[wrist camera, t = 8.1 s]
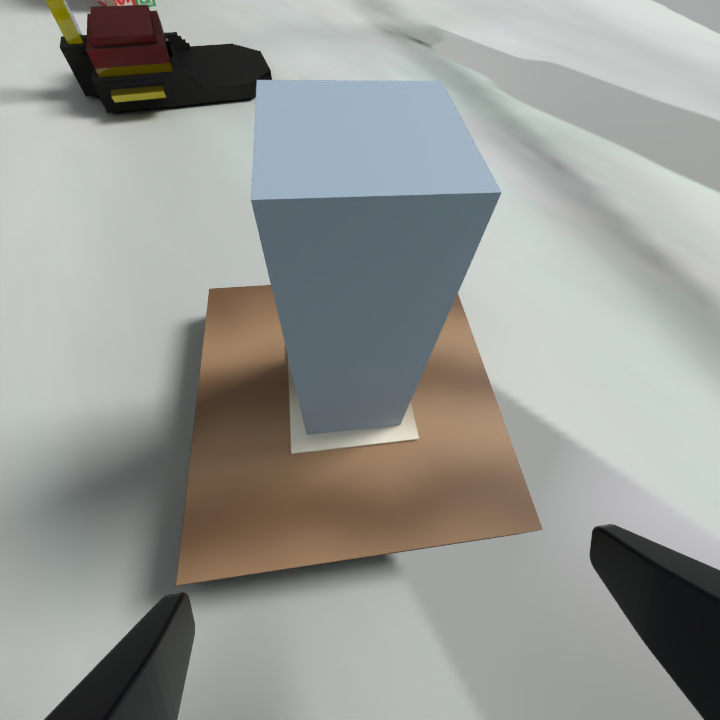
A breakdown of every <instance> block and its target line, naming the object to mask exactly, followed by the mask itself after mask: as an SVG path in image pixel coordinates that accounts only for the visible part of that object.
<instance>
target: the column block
mask: <svg viewBox="0 0 720 720" xmlns="http://www.w3.org/2000/svg"><path fill="white" fill-rule="evenodd" d="M500 195H501V191H500V189H499V187H498V185H497V183H496V181H495V179H494V178H493V176H492V174H491V172H490V170H489V168H488V166H487V165H486V163H485V161H484V159H483V157H482V155H481V153H480V152H479V150H478V148H477V146H476V144H475V142H474V140H473V138H472V137H471V135H470V133H469V131H468V129H467V127H466V125H465V124H464V122H463V120H462V118H461V116H460V114H459V112H458V111H457V109H456V107H455V105H454V103H453V101H452V99H451V98H450V96H449V94H448V92H447V90H446V88H445V86H444V84H443V83H442V81H335V80H257V86H256V107H255V128H254V148H253V169H252V190H251V202H252V206H253V210H254V215H255V219H256V223H257V227H258V231H259V236H260V240H261V244H262V248H263V253H264V257H265V261H266V265H267V270H268V274H269V278H270V282H271V286H272V291H273V295H274V299H275V303H276V308H277V312H278V316H279V320H280V325H281V329H282V333H283V337H284V341H285V346H286V350H287V354H288V358H289V363H290V367H291V371H292V375H293V380H294V384H295V388H296V392H297V396H298V401H299V405H300V409H301V413H302V418H303V422H304V426H305V430H306V435H309V434H319V433H328V432H338V431H347V430H357V429H367V428H376V427H386V426H395V425H401V422H402V420H403V418H404V415H405V413H406V411H407V408H408V406H409V404H410V402H411V399H412V397H413V395H414V392H415V390H416V388H417V385H418V383H419V381H420V379H421V376H422V374H423V372H424V369H425V367H426V365H427V362H428V360H429V358H430V356H431V353H432V351H433V349H434V346H435V344H436V342H437V339H438V337H439V335H440V333H441V330H442V328H443V326H444V323H445V321H446V319H447V316H448V314H449V312H450V310H451V307H452V305H453V303H454V300H455V298H456V296H457V293H458V291H459V289H460V287H461V284H462V282H463V280H464V277H465V275H466V273H467V270H468V268H469V266H470V264H471V261H472V259H473V257H474V254H475V252H476V250H477V247H478V245H479V243H480V241H481V238H482V236H483V234H484V231H485V229H486V227H487V224H488V222H489V220H490V218H491V215H492V213H493V211H494V208H495V206H496V204H497V201H498V199H499V197H500Z"/></svg>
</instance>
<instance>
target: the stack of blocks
mask: <svg viewBox="0 0 720 720" xmlns="http://www.w3.org/2000/svg"><path fill="white" fill-rule="evenodd" d="M96 1H98V2H99V3H100V4H102V5H104V6H125V5H148V7H152V6H156V3H155V0H96Z"/></svg>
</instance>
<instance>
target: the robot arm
mask: <svg viewBox="0 0 720 720" xmlns="http://www.w3.org/2000/svg"><path fill="white" fill-rule="evenodd" d="M590 560H591V563H592V565H593V567H594V569H595V571H596V572H597V573H598V575H599V577H600V578H601V580H602V581H603V583H604V584H605V586H606V587H607V588H608V590H609V592H610V593H611V595H612V596H613V597H614V599H615V600H616V602H617V603H618V605H619V606H620V608H621V609H622V611H623V612H624V614H625V615H626V617H627V618H628V620H629V621H630V623H631V624H632V626H633V627H634V629H635V630H636V632H637V633H638V635H639V636H640V637H641V639H642V640H643V641H644V643H645V644H646V646H647V647H648V648H649V650H650V651H651V652H652V654H653V655H654V656H655V657H656V659H657V660H658V661H659V663H660V664H661V665H662V666H663V668H664V669H665V670H666V672H667V673H668V674H669V675H670V677H671V678H672V679H673V680H674V682H675V683H676V684H677V686H678V687H679V688H680V689H681V691H682V692H683V693H684V695H685V696H686V697H687V698H688V700H689V701H690V702H691V704H692V705H693V706H694V707H695V709H696V710H697V711H698V712H699V714H700V715H701V716H702V718H703V719H704V720H720V570H718V569H716V568H713V567H711V566H709V565H706V564H704V563H702V562H699V561H697V560H695V559H692V558H690V557H688V556H685V555H683V554H681V553H678V552H676V551H674V550H672V549H669V548H667V547H665V546H662V545H660V544H658V543H655V542H653V541H651V540H648V539H646V538H644V537H641V536H639V535H637V534H634V533H632V532H630V531H628V530H625V529H623V528H621V527H618V526H616V525H612V524H608V525H601V526H596V527H595V528H594V529H593V531H592V538H591V547H590ZM194 635H195V622H194V618H193V613H192V609H191V604H190V600H189V596H188V595H187V593H184V592H182V593H176V594H169V595H166V596H164V597H163V598H162V599H161V600H160V601H159V602H158V603H157V604H156V605H155V606H154V607H153V608H152V609H151V610H150V611H149V612H148V613H147V614H146V615H145V616H144V617H143V618H142V619H141V620H140V621H139V622H138V623H137V624H136V625H135V626H134V627H133V628H132V629H131V630H130V631H129V633H128V634H127V635H126V636H125V637H124V638H123V639H122V640H121V641H120V642H119V643H118V644H117V645H116V646H115V647H114V648H113V649H112V650H111V651H110V652H109V653H108V654H107V655H106V656H105V657H104V658H103V659H102V660H101V661H100V662H99V663H98V664H97V665H96V667H95V668H94V669H93V670H92V671H91V672H90V673H89V674H88V675H87V676H86V677H85V678H84V679H83V680H82V681H81V682H80V683H79V684H78V685H77V686H76V687H75V688H74V689H73V690H72V691H71V692H70V693H69V694H68V695H67V696H66V697H65V698H64V700H63V701H62V702H61V703H60V704H59V705H58V706H57V707H56V708H55V709H54V710H53V711H52V712H51V713H50V714H49V715H48V716H47V717H46V718H45V719H44V720H177V718H178V713H179V708H180V703H181V699H182V694H183V689H184V684H185V679H186V674H187V670H188V665H189V660H190V655H191V650H192V645H193V641H194Z"/></svg>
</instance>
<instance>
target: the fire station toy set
mask: <svg viewBox="0 0 720 720" xmlns="http://www.w3.org/2000/svg"><path fill="white" fill-rule="evenodd" d="M46 2H47V4H48V6H49V8H50V10H51V12H52V14H53V16H54V18H55V20H56V22H57V24H58V26H59V28H60V29H61V31H62V33H63V35H64V36H63V37H61V42H60V49H61V51H62V52H63V54H64V56H65V58H66V60H67V62H68V64H69V66H70V67H71V69H72V71H73V73H74V75H75V77H76V79H77V81H78V82H79V84H80V86H81V88H82V90H83V92H84V94H85V96H96V95H99V97H100V99H101V101H102V103H103V105H104V107H105V109H106V111H107V113H111V112H121V111H130V110H140V109H150V108H159V107H169V106H179V105H188V104H198V103H208V102H217V101H227V100H236V99H246V98H254V96H256V86H257V80H272V78H271V71H270V69H269V67H268V65H267V63H266V61H265V59H264V57H263V55H262V54H261V52H260V51H257V50H254V49H250V48H247V47H243V46H241V47H240V45H239V46H237V45H234V44H221V45H206V46H192V47H190V45H189V43H186V41H185V39H184V40H182V38H181V36H178V35H177V32H172V33H164V32H163V28H162V25H161V22H160V19H159V16H158V13H157V11H150V10H149V7H148V5H125V6H101V7H91V14H88V17H87V35H82V33H81V31H80V29H79V27H78V25H77V23H76V21H75V19H74V16H73V14H72V12H71V10H70V8H69V6H68V4H67V2H66V0H46Z"/></svg>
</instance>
